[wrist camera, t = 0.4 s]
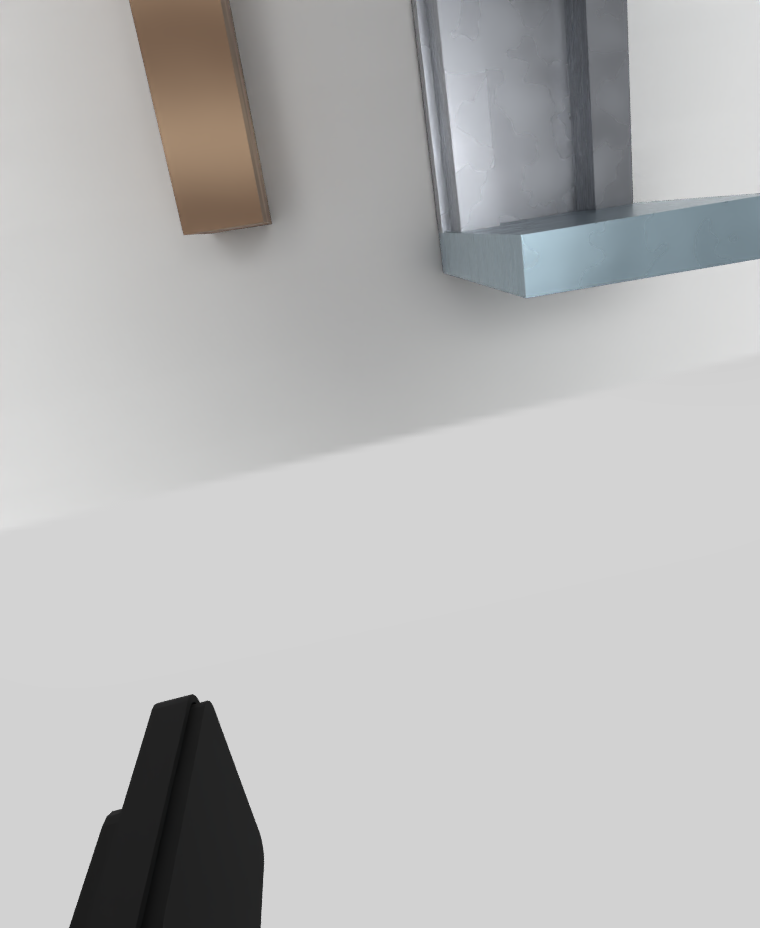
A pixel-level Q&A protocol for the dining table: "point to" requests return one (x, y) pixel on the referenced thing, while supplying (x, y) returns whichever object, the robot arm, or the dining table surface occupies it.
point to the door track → (551, 153)
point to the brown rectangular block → (202, 113)
